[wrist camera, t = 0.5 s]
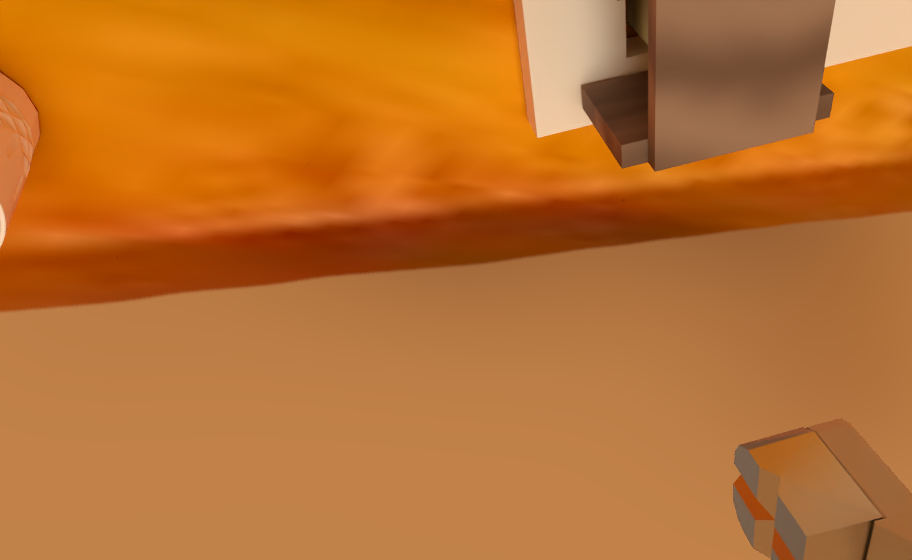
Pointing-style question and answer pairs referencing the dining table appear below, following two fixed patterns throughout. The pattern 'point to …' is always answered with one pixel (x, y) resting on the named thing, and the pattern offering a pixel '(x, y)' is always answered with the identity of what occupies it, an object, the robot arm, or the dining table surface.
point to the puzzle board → (613, 55)
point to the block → (638, 17)
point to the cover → (717, 81)
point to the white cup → (14, 146)
